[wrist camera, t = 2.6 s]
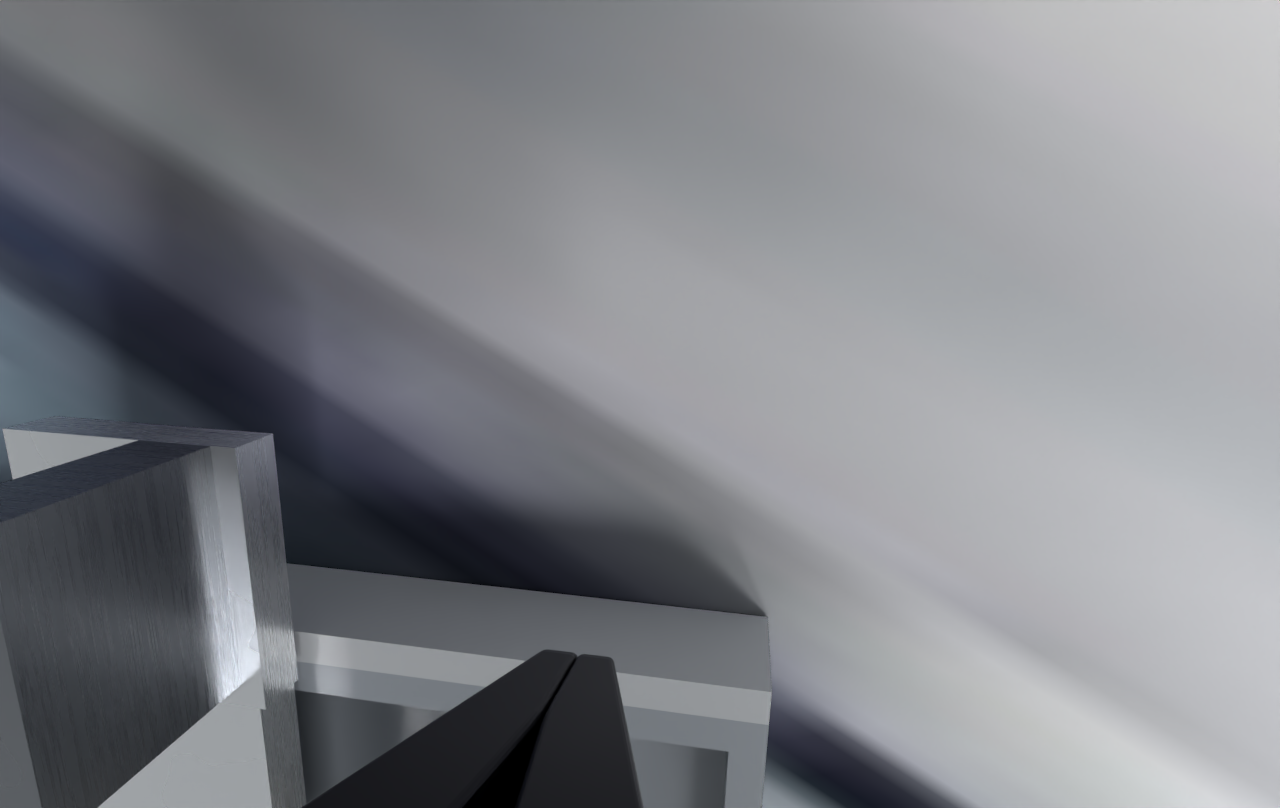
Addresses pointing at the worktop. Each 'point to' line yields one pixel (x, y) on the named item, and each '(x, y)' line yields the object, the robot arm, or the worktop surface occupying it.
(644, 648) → the bin
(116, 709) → the lid
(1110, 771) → the worktop surface
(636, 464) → the worktop surface
